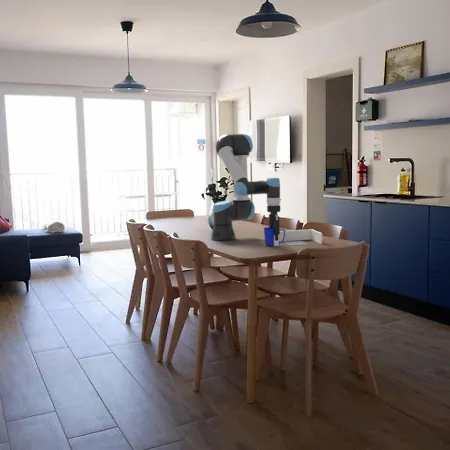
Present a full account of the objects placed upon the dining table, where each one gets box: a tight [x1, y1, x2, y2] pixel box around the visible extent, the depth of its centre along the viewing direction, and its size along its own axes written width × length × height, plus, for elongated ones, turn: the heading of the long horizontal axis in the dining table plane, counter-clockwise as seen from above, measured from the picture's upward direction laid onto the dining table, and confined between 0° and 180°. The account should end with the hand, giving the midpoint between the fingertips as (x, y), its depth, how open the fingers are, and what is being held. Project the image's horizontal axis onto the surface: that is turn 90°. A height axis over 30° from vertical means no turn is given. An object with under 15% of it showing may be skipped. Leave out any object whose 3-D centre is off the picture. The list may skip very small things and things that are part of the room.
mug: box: [263, 226, 286, 247], centre depth 302 cm, size 8×12×10 cm
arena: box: [279, 228, 323, 245], centre depth 310 cm, size 25×17×6 cm
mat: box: [282, 240, 309, 247], centre depth 308 cm, size 11×15×1 cm
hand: (274, 244), depth 303 cm, fingers closed on mug, 7 cm apart
